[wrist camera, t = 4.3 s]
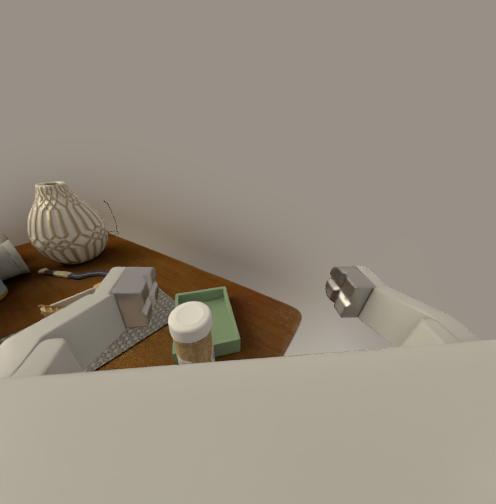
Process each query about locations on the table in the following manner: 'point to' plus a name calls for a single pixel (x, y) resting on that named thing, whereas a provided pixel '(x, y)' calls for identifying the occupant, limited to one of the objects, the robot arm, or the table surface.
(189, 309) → the sprinkles bottle
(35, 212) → the vase
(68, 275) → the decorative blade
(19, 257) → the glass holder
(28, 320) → the table surface
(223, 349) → the tray
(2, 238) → the decorative object
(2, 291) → the bottle
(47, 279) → the table surface
